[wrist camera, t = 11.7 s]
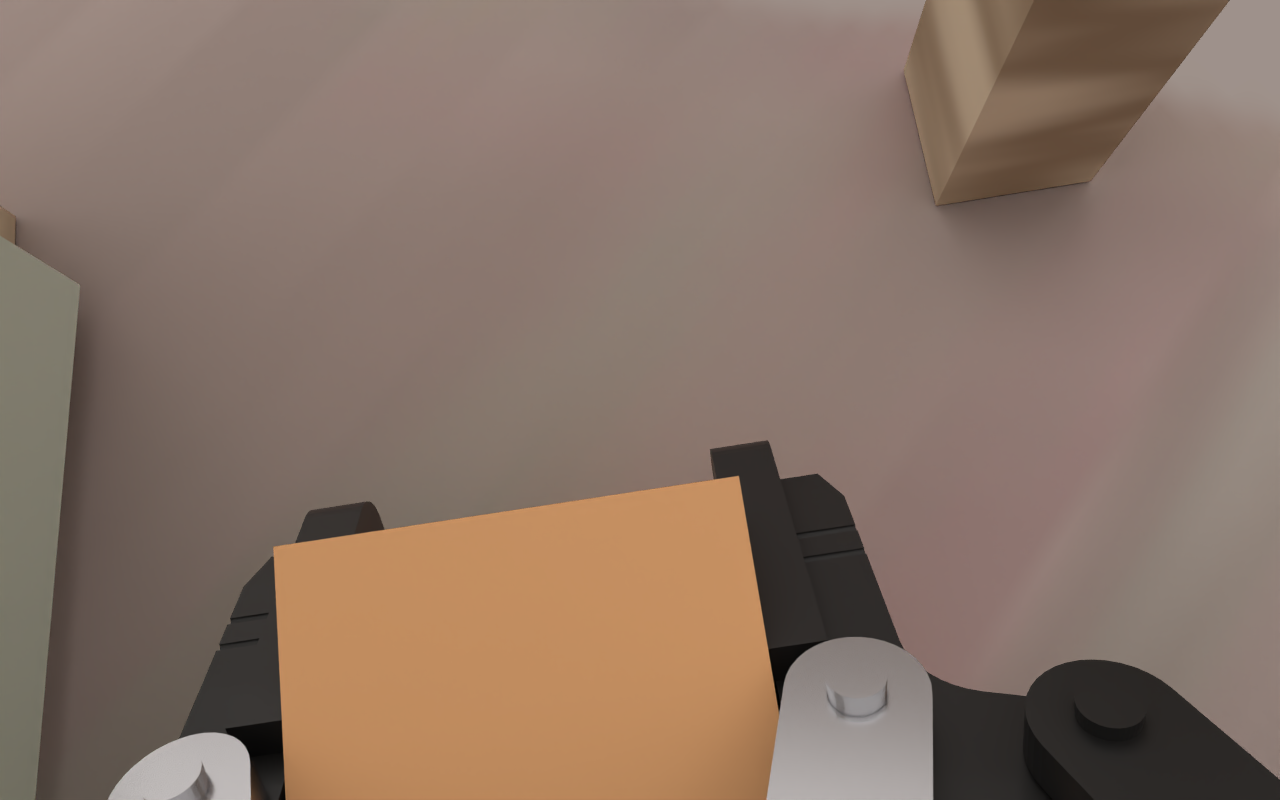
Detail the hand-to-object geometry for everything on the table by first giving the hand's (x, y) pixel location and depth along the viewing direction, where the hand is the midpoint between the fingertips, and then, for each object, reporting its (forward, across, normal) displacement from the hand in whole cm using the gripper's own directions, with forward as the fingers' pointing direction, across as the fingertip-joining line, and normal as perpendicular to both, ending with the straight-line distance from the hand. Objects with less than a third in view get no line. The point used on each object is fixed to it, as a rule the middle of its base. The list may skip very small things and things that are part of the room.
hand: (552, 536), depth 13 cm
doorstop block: (+2, 0, +5) cm, 5 cm away
